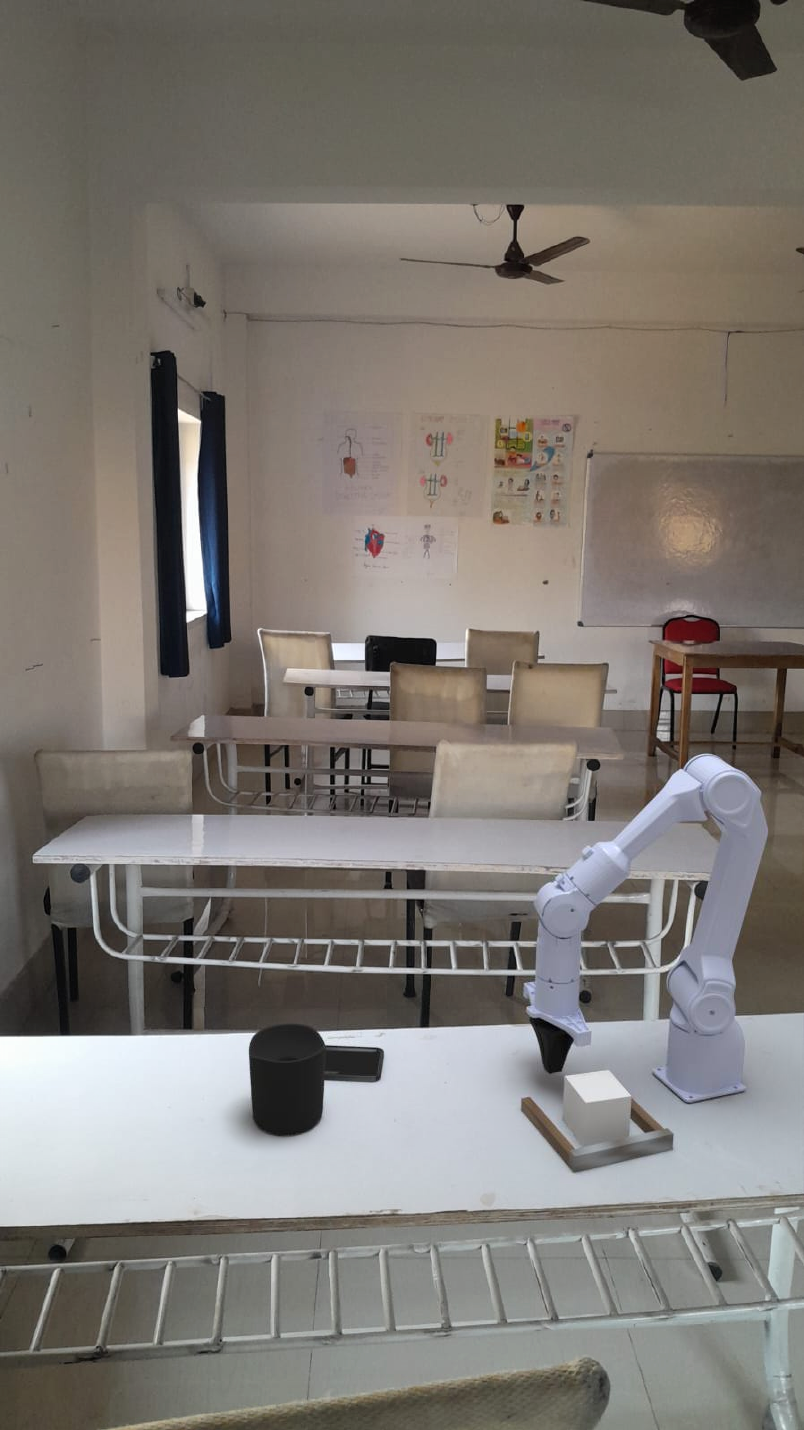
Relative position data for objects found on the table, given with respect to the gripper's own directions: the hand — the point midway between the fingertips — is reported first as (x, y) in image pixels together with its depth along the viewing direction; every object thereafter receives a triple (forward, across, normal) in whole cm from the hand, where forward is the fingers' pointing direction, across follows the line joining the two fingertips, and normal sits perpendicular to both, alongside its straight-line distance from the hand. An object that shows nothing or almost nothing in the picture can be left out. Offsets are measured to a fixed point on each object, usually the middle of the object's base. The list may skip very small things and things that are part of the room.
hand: (553, 1070), depth 128 cm
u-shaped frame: (+2, +10, 0) cm, 10 cm away
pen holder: (+2, -4, -35) cm, 35 cm away
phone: (+2, -14, -27) cm, 31 cm away
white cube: (+2, +11, 0) cm, 11 cm away
